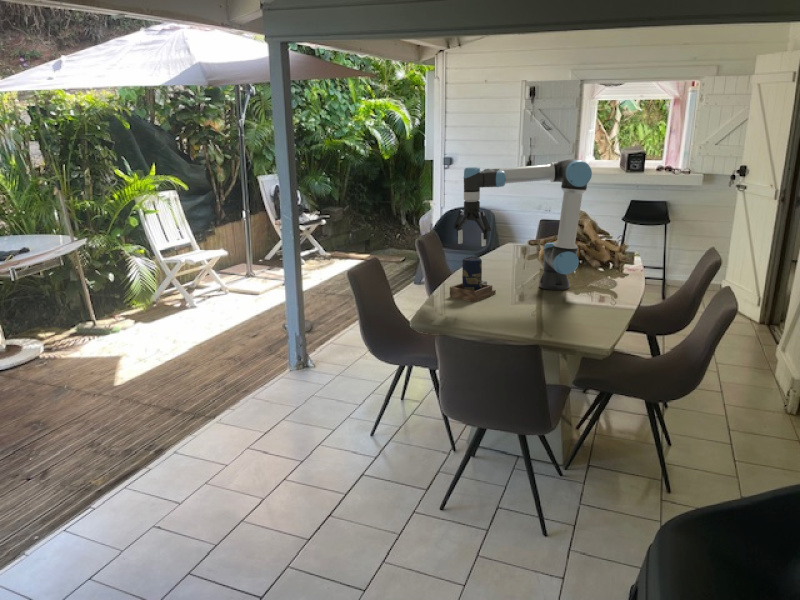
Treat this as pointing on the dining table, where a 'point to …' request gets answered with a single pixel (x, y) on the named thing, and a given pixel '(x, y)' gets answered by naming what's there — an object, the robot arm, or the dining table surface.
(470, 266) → the canister
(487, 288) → the wooden tray
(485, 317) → the dining table surface
